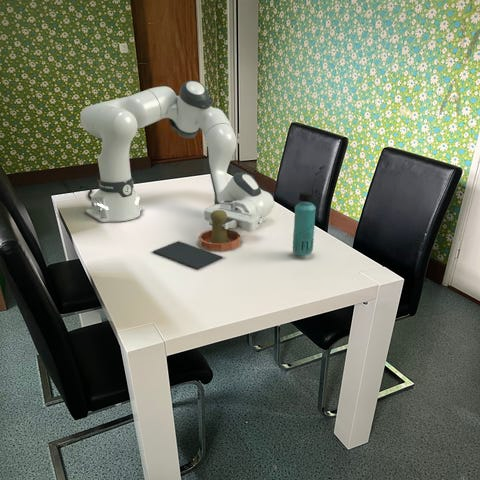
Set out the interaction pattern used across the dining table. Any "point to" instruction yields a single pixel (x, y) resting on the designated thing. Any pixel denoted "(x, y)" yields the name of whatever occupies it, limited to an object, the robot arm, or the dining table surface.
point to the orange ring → (205, 244)
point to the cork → (218, 227)
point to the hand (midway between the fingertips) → (217, 224)
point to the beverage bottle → (304, 225)
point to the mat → (188, 255)
